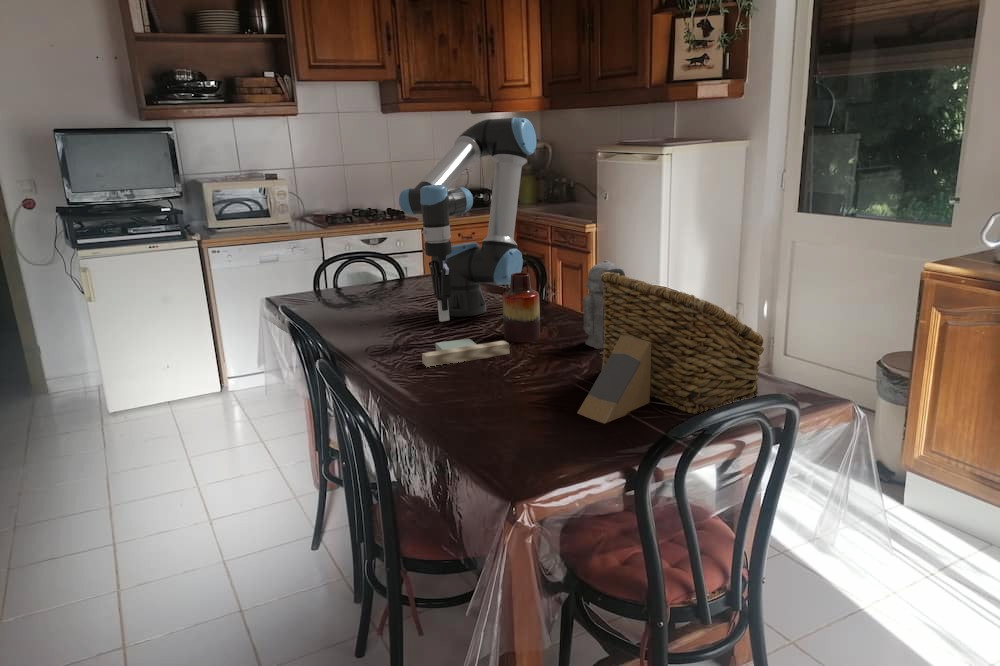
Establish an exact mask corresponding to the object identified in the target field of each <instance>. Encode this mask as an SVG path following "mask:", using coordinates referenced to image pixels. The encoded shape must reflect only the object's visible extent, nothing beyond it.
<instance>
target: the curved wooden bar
mask: <svg viewBox="0 0 1000 666" xmlns="http://www.w3.org/2000/svg"><path fill="white" fill-rule="evenodd" d="M510 353H511V352H510V343H509V341H508V342H507V340H498V341H492V342H485V343H478V344H477V345H472V346H465V347H459V348H453V349H446V350H440V351H436V350H435V351H428V352H422V353H421V358H422V365H423V364H424V365H425V366H426V367H425V366H424V365H423V366H424V367H425V368H427V367H429V368H431V367H430V366H435V367H437V366H436V365H441V366H444V365H443V364H447V365H451V364H450V363H453V364H457V363H458V362H459V363H463V362H464V361H465V362H469V361H475V360H481V359H487V358H493V357H500V356H503V355H504V356H505V355H510Z"/></svg>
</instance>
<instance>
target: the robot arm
mask: <svg viewBox="0 0 1000 666" xmlns="http://www.w3.org/2000/svg"><path fill="white" fill-rule="evenodd" d="M536 148H537V135H536V130H535V128H534V126H533V123H532V122H531V121H530V120H529V119H528V118H525V117H515V116H514V117H507V118H505V117H504V118H490V119H489V118H487V119H483V120H480V121H478V122H476V123H474V124H473V125H472V126H471V125H470V126H469V127H468V128H467V129H465V131H463V132H462V133H461V134H459V135H458V137H457V138H456V139H455V140H454V143H453V147H452V148H451V149H450V150H449V151H448V152H447V153H446V154H445V155H444V156H443V157H442V159H440V161H439V162H437V163H436V164H435V166H434V167H433V168H432V169H431V170H430V171H429V172H428V173H427V174H426V175H425V176H424V177H423V179H421V181H420V182H419V183H418V184H416V186H415V187H414V188H411V187H409V188H405V189H403V190H402V191H401V192H400V193H399V197H398V204H399V207H400V210H401V211H402V212H403V213H404V214H410V215H421V217H422V229H423V230H422V231H421V234H422V235H423V239H424V241H425V243H424V251H425V255H426V256H428V257H431V261H429V262H428V266H429V270H430V276H431V283H432V289H433V294H434V295H435V296H436V301H437V310H438V321H439V322H447V321H450V317H459V318H461V317H473V316H478V315H482V314H484V313H486V312H487V303H486V301H485V298H484V295H483V293H482V290H481V284H486V285H487V284H489V285H490V284H491V285H499V286H502V285H510V284H511V274H513V273H522V269H523V263H524V259H523V254H522V252H521V251H520V250H519V249H518V243H517V242H516V241H515V240H514V238H515V231H516V230H515V228H516V221H517V220H516V219H517V212H518V203H519V202H518V201H519V194H520V187H521V186H520V185H521V177H522V168H523V166H524V165H526V164H528V157H529V156H531V155H533V154H534V153H535V152H536ZM488 156H489V157H490V156H491V160H493V162H494V163H495V166H494V175H493V176H494V177H493V184H492V193H491V203H490V209H489V212H490V213H489V220H488V227H487V228H488V229H487V236H486V237H485V238H484V239H483V240H482V241H481V247H480V246H479V243H478V242H466V243H459V244H453V245H452V241H451V240H450V239H451V238H452V236H451V235H452V234H451V226H450V225H451V224H450V217H452V216H456V215H463V214H464V213H466V212H469V211H470V210H471V208H473V204H474V198H473V197H474V196H473V194H472V193H471V191H470V190H469V189H468V188H466V187H463V186H461V187H457V186H456V187H454V188H450V187H451V186H452V185H453V183H454V182H455V181H456V180H457V179H458V178H459V177H460V176H461V174H463V172H464V171H465V170H466V169H467V168H468V167H469V165H470V164H473V163H476V162H477V161H478V160H480V158H483V157H488Z"/></svg>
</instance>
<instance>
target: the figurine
mask: <svg viewBox="0 0 1000 666" xmlns="http://www.w3.org/2000/svg"><path fill="white" fill-rule="evenodd" d="M604 272H610V273H617V274H618V273H619V274H620V275H622V276H626V274H625V271H624V270H623V268H622V267H621V266H620V264H617V263H614V262H611V261H609V260H607V259H606V260H604V261H603V262H600V263H597V264H595V265H593V266H592V267H591V268H590V269H589V272H588V276H587V281H586V284H585V288H586V289H588V294H587V295H585V296H584V297H583V299H582V307H583V308H582V309H583V326H582V329H583V330H584V332H585V334H587V335H588V338H587V339H586V340H585V345H587V346H589V347H590V348H593V347H594V349H596V350H601V349H604V348H603V345H604V343H605V342H604V329H605V328H604V318H603V317H604V313H605V312H604V306H603V303H604V302H603V299H604V298H605V297H604V295H603V290H604V288H603V285H604V282H602V281H601V278H600V276H601V274H602V273H604Z"/></svg>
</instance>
